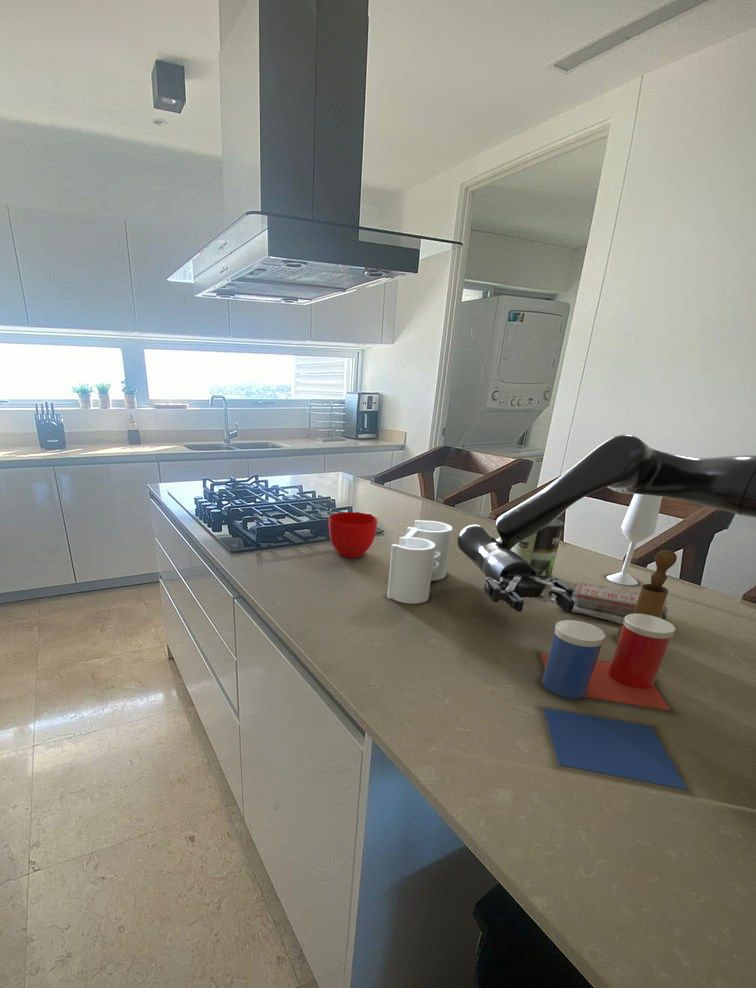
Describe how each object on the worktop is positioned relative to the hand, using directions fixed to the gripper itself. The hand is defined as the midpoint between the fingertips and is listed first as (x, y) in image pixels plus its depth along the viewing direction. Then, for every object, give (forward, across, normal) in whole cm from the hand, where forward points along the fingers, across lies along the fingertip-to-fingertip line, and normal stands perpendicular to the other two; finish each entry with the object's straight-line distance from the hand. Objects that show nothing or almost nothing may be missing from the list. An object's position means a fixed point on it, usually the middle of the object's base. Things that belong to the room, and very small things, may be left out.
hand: (545, 607), depth 82 cm
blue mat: (+24, -1, +9) cm, 25 cm away
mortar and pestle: (-4, +21, +9) cm, 24 cm away
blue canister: (+10, 0, +9) cm, 14 cm away
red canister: (+8, +12, +9) cm, 17 cm away
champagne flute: (-36, +38, +9) cm, 53 cm away
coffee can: (-38, +16, +10) cm, 43 cm away
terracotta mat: (+8, +7, +9) cm, 14 cm away
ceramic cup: (-55, -26, +10) cm, 62 cm away
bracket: (-32, -13, +10) cm, 36 cm away
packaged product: (-17, +24, +9) cm, 31 cm away
